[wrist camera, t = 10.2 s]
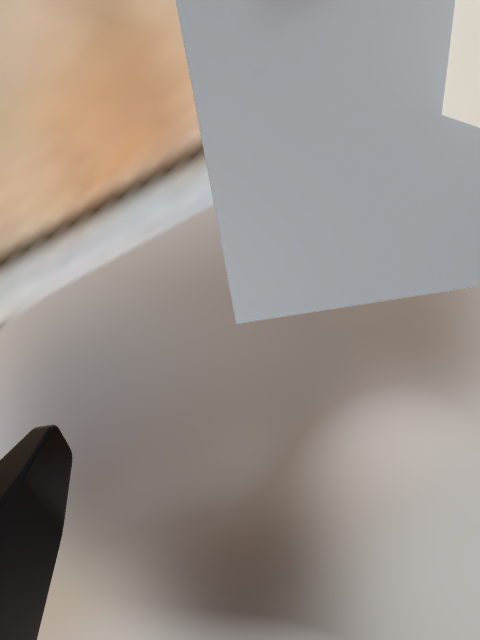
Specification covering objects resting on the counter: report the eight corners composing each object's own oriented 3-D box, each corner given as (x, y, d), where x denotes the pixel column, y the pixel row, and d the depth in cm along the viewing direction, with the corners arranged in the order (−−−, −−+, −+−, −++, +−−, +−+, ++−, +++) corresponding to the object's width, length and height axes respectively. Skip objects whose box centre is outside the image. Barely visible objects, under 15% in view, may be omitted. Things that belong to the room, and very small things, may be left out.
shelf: (234, 297, 22) (240, 364, 18) (137, -229, 12) (94, -384, 8) (546, 247, 22) (635, 304, 17) (711, -346, 12) (1029, -589, 7)
